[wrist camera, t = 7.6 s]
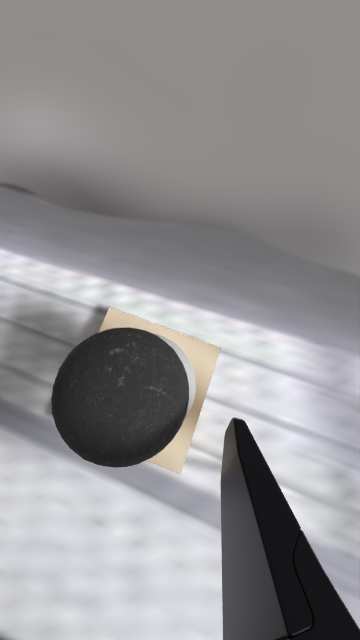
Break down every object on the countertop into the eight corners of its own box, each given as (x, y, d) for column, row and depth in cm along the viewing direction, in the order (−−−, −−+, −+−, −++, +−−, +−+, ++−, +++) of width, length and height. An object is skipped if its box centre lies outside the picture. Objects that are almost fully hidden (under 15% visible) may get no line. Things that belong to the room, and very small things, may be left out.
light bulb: (98, 352, 18) (19, 321, 9) (175, 343, 19) (184, 303, 9) (103, 435, 17) (17, 510, 7) (185, 423, 17) (208, 478, 8)
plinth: (179, 466, 18) (180, 475, 17) (65, 422, 19) (55, 426, 17) (217, 350, 20) (221, 347, 19) (113, 312, 21) (108, 306, 19)
